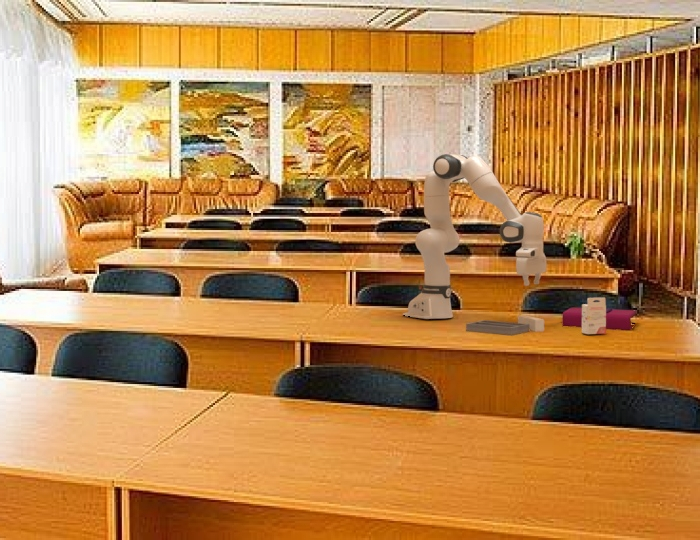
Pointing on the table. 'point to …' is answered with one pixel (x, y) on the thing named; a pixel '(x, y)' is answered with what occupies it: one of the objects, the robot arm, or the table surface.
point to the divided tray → (497, 327)
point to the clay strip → (532, 322)
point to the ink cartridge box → (594, 316)
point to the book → (613, 318)
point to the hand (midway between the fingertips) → (531, 284)
